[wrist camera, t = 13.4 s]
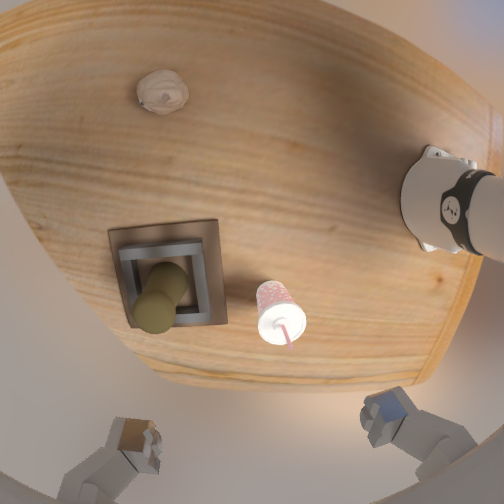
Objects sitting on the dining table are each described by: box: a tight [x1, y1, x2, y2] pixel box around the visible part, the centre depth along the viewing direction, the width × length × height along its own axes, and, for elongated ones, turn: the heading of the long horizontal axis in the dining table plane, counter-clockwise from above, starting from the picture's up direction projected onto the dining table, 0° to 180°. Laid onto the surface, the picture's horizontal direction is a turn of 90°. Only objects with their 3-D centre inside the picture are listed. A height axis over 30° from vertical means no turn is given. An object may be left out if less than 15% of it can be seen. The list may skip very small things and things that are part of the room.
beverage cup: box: [256, 280, 306, 351], centre depth 35 cm, size 6×6×14 cm
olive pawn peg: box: [132, 262, 188, 334], centre depth 33 cm, size 6×6×11 cm
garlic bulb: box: [137, 69, 189, 115], centre depth 28 cm, size 7×6×8 cm
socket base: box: [109, 220, 228, 328], centre depth 38 cm, size 16×16×4 cm
